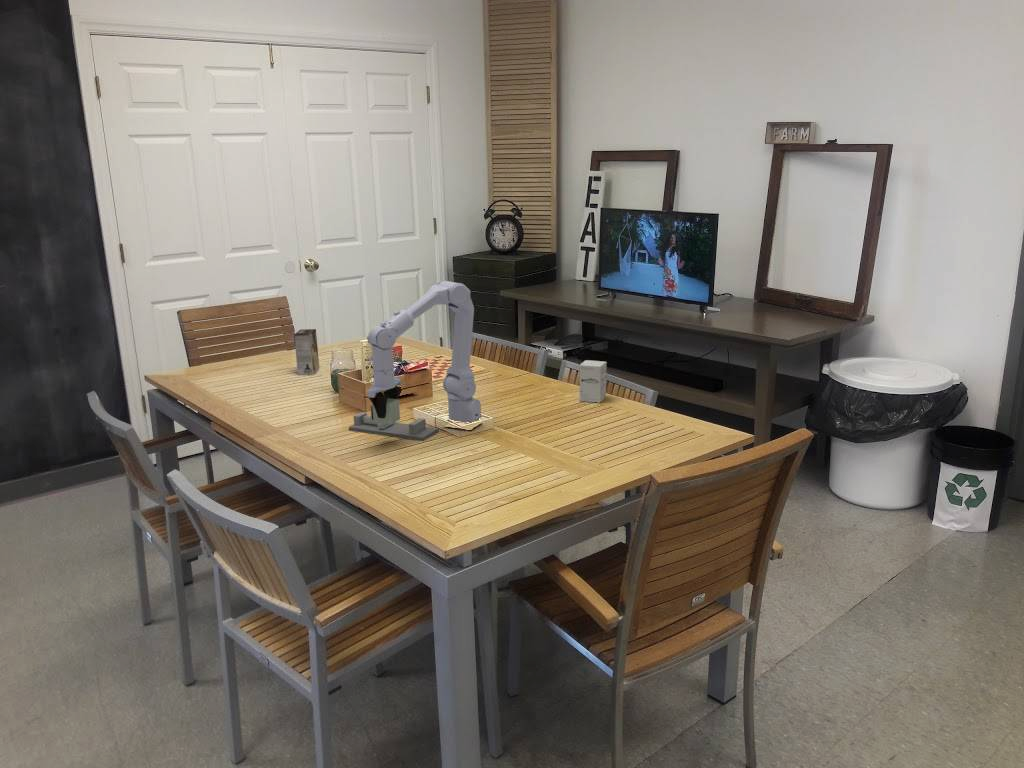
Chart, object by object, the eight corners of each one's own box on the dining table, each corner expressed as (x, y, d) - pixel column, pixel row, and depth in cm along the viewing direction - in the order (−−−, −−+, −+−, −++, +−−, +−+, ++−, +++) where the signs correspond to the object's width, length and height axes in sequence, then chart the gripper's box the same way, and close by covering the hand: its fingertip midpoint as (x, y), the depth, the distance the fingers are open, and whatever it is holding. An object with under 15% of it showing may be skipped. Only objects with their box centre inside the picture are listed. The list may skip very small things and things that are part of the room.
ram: (394, 423, 248) (393, 405, 246) (383, 429, 243) (382, 410, 241) (369, 419, 252) (368, 402, 250) (358, 425, 246) (357, 407, 245)
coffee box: (303, 369, 319) (299, 329, 315) (320, 369, 319) (316, 328, 315) (297, 375, 310) (293, 334, 306) (314, 375, 310) (310, 333, 306)
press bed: (438, 431, 243) (438, 418, 242) (422, 440, 236) (422, 427, 235) (366, 421, 254) (365, 409, 253) (349, 430, 246) (348, 417, 245)
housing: (400, 419, 234) (398, 399, 232) (391, 424, 230) (389, 403, 228) (382, 417, 236) (380, 397, 235) (373, 421, 232) (371, 401, 231)
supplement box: (578, 401, 270) (578, 364, 266) (585, 395, 276) (585, 359, 273) (600, 403, 267) (600, 366, 263) (606, 397, 273) (606, 360, 270)
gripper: (385, 361, 237) (389, 406, 240) (356, 374, 224) (360, 421, 228) (406, 363, 234) (409, 409, 238) (377, 376, 221) (381, 423, 225)
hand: (386, 415), depth 233 cm, fingers closed on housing, 4 cm apart
